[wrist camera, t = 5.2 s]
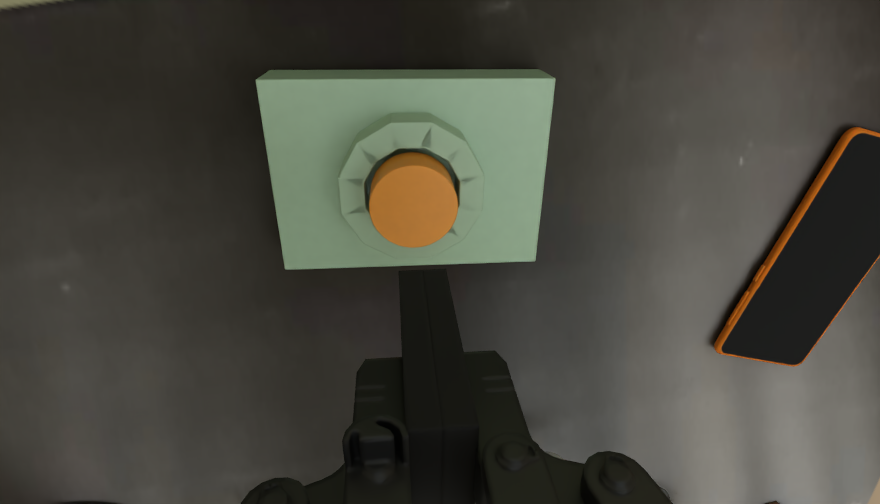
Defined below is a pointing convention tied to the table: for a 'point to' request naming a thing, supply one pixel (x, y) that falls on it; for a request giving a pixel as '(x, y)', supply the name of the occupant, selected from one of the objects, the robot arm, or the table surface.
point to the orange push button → (412, 200)
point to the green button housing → (399, 131)
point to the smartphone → (813, 259)
